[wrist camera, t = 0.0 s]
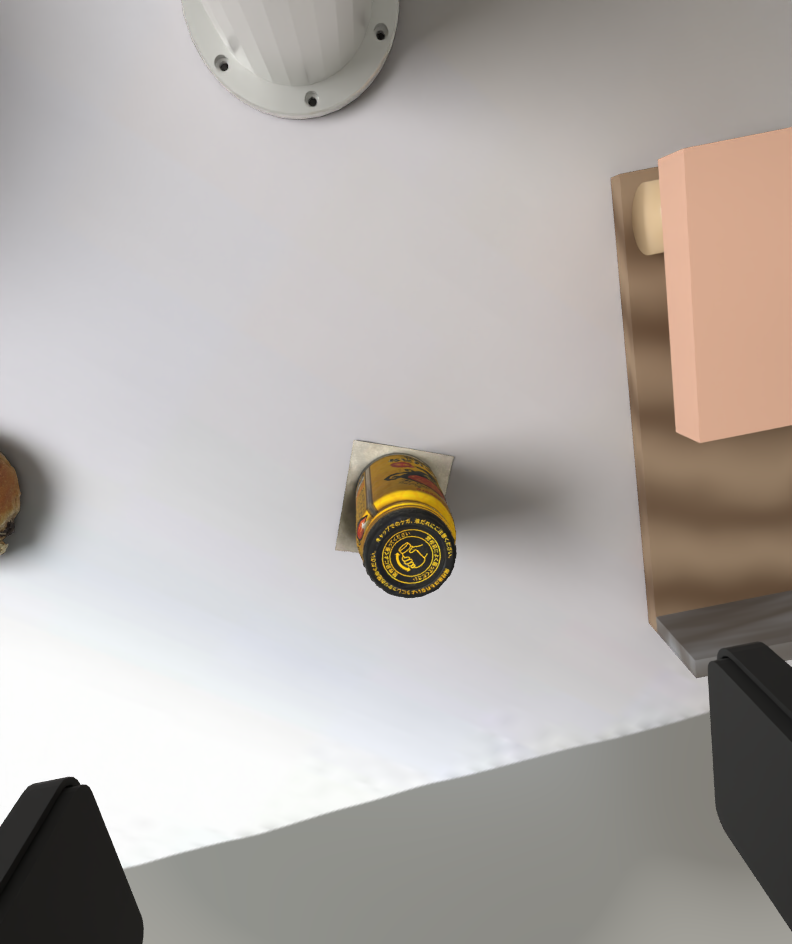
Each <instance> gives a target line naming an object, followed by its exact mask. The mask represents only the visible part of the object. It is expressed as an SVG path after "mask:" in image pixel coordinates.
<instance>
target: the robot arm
mask: <svg viewBox="0 0 792 944" xmlns="http://www.w3.org/2000/svg"><path fill="white" fill-rule="evenodd" d="M181 2H182V9H183V15H184V18H185V21H186V24H187V27H188V30H189V33H190V36H191V39H192V41H193V43H194V45H195V47H196V49H197V50H198V52H199V54H200V56H201V58H202V60H203V61H204V63H205V64H206V66H207V67H208V69H209V70H210V71H211V73H212V74H213V75H214V76H215V77H216V79H217V80H218V81H219V82H220V83H221V84H222V85H223V86H224V87H225V88H226V90H228V91H229V92H230V93H231V94H233V95H234V96H235V97H237V98H238V99H239V100H241V101H242V102H243V103H245V104H247V105H249V106H251V107H253V108H255V109H256V110H258V111H260V112H262V113H266V114H269V115H273V116H277V117H280V118H290V119H307V118H314V117H321V116H323V115H326V114H329V113H331V112H334V111H337V110H339V109H341V108H342V107H344V106H346V105H347V104H349V103H350V102H352V101H353V100H355V99H356V98H357V97H358V96H359V95H360V94H361V93H362V92H364V91H365V90H366V89H367V88H368V87H369V86H370V85H371V83H372V82H373V80H374V79H375V78H376V76H377V75H378V73H379V72H380V70H381V69H382V67H383V65H384V63H385V61H386V59H387V56H388V54H389V52H390V50H391V47H392V43H393V40H394V36H395V32H396V28H397V22H398V14H399V0H181ZM378 33H382V34H384V36H385V38H384V39H383V40H378V39H377V37H376V36H377V34H378ZM222 64H227V65H228V69H227V70H226V71H222V70H221V66H222ZM311 99H315V100H316V101H317V104H316V106H314V107H312V106H310V105H309V101H310V100H311ZM708 685H709V702H710V718H711V735H712V751H713V752H712V753H713V770H714V787H715V803H716V810H717V813H718V816H719V819H720V822H721V824H722V826H723V829H724V830H725V832H726V834H727V835H728V837H729V838H730V840H731V841H732V843H733V844H734V846H735V847H736V849H737V850H738V852H739V853H740V855H741V856H742V858H743V859H744V861H745V862H746V864H747V865H748V867H749V868H750V870H751V871H752V873H753V874H754V876H755V877H756V879H757V880H758V881H759V883H760V885H761V886H762V888H763V889H764V891H765V892H766V894H767V895H768V896H769V898H770V900H771V901H772V902H773V904H774V906H775V907H776V909H777V910H778V912H779V913H780V914H781V916H782V917H783V919H784V920H785V922H786V923H787V925H788V926H789V928H790V929H791V931H792V667H791V666H790V665H789V664H787V663H786V662H785V661H784V660H783V659H782V658H781V657H780V656H778V655H777V654H776V653H775V652H774V651H773V650H772V649H770V648H769V647H768V646H767V645H765V644H764V643H762V642H758V641H757V642H752V643H747V644H742V645H737V646H731V647H726V648H722V649H720V650H719V651H718V654H717V660H714V661H711V662H709V664H708ZM143 930H144V928H143V920H142V917H141V914H140V911H139V909H138V906H137V904H136V901H135V899H134V896H133V894H132V891H131V889H130V886H129V884H128V881H127V879H126V876H125V874H124V871H123V868H122V866H121V863H120V861H119V858H118V856H117V853H116V851H115V848H114V846H113V843H112V841H111V838H110V836H109V833H108V831H107V828H106V826H105V823H104V821H103V818H102V816H101V813H100V811H99V808H98V806H97V803H96V800H95V798H94V795H93V793H92V791H91V789H90V787H88V786H87V785H80V783H79V782H78V780H77V779H75V778H74V777H65V778H60V779H55V780H50V781H45V782H40V783H35V784H32V785H30V786H28V787H27V789H26V790H25V791H24V792H23V793H22V795H21V796H20V798H19V799H18V801H17V802H16V804H15V805H14V807H13V808H12V810H11V811H10V813H9V814H8V816H7V817H6V819H5V820H4V822H3V823H2V825H1V826H0V944H142V942H143Z"/></svg>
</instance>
